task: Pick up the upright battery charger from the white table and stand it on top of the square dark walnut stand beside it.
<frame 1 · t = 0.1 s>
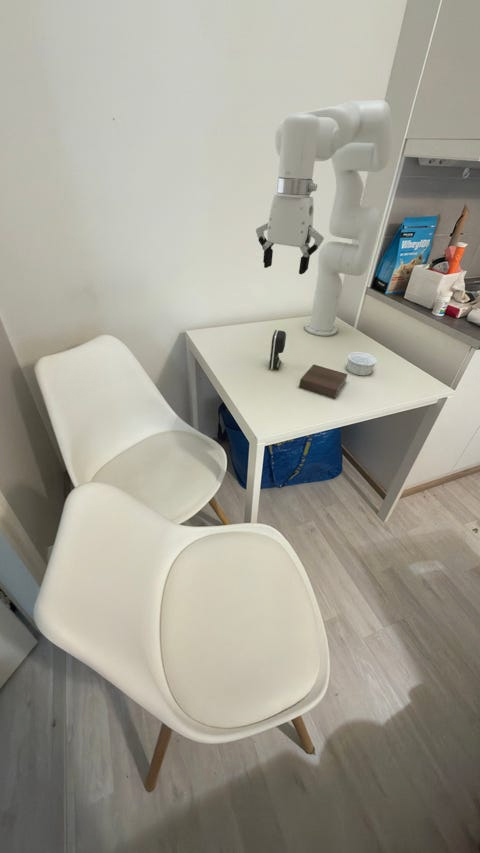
hand: (284, 269, 87), 31 cm above the table, tool pointing down, fingers open, 9 cm apart
ramekin: (358, 370, 112), on the table
stand: (322, 385, 104), on the table
battery charger: (276, 366, 112), on the table
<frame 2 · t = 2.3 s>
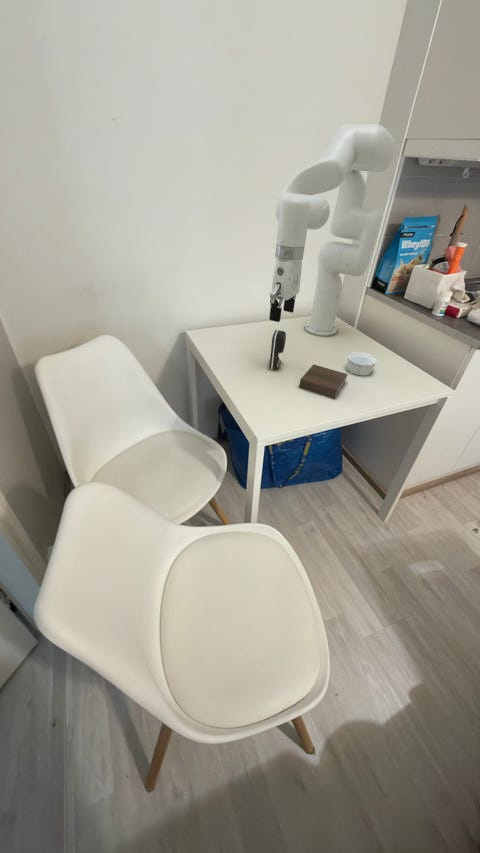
hand: (281, 316, 101), 17 cm above the table, tool pointing down, fingers open, 9 cm apart
nothing on the table moved.
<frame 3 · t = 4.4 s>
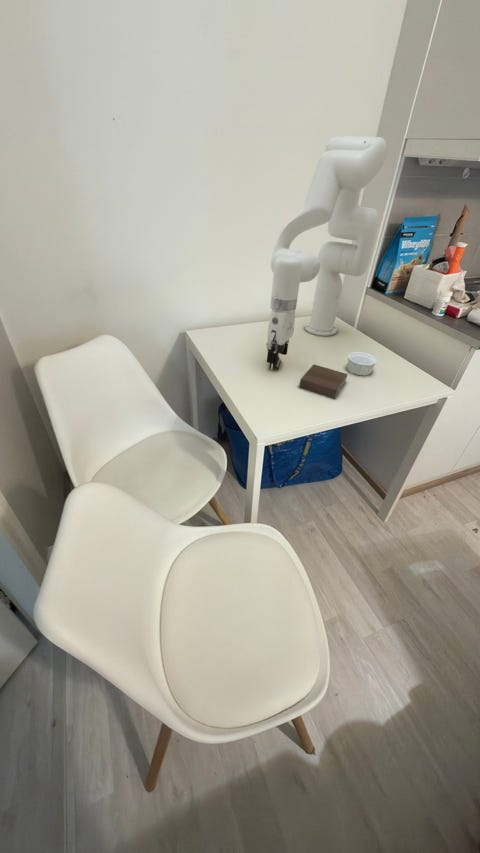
hand: (276, 358, 110), 3 cm above the table, tool pointing down, fingers closed on battery charger, 7 cm apart
battery charger: (276, 366, 112), on the table, touching gripper
everything else where it was.
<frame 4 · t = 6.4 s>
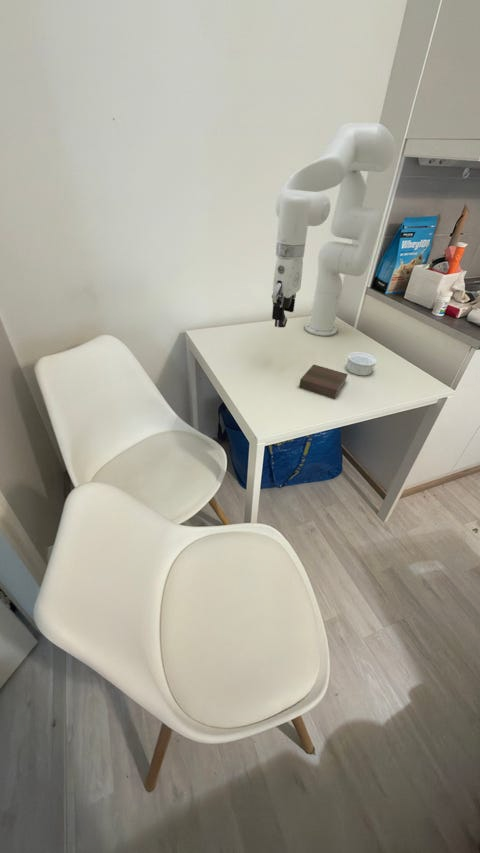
hand: (283, 314, 102), 17 cm above the table, tool pointing down, fingers closed on battery charger, 7 cm apart
battery charger: (282, 324, 104), point 14 cm above the table, touching gripper
everything else where it was.
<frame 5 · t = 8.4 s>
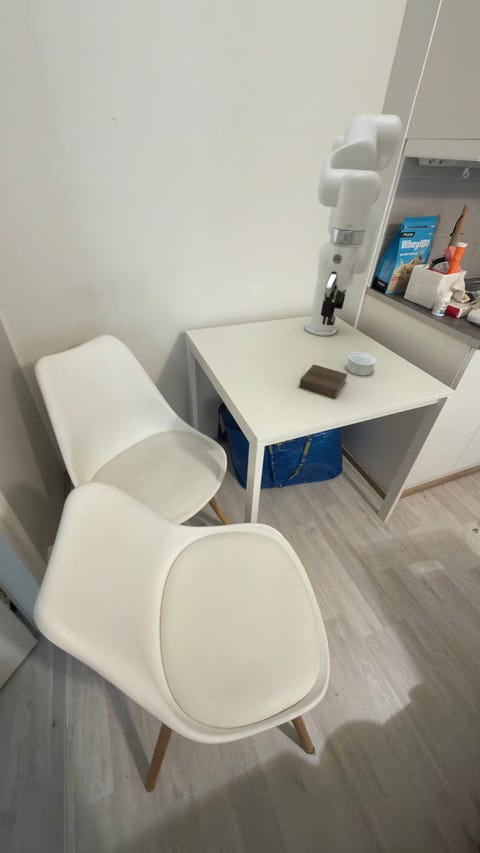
hand: (331, 311, 91), 22 cm above the table, tool pointing down, fingers closed on battery charger, 7 cm apart
battery charger: (329, 322, 93), point 19 cm above the table, touching gripper
everything else where it was.
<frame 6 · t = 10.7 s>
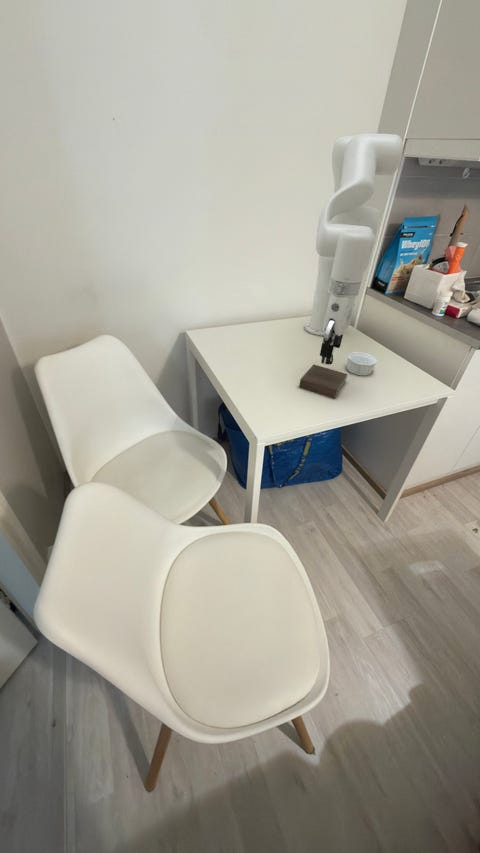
hand: (330, 351, 97), 11 cm above the table, tool pointing down, fingers closed on battery charger, 7 cm apart
battery charger: (327, 360, 99), point 8 cm above the table, touching gripper
everything else where it was.
when the fingers open (6 cm above the table, at t = 12.5 s): battery charger stays where it is, resting on stand.
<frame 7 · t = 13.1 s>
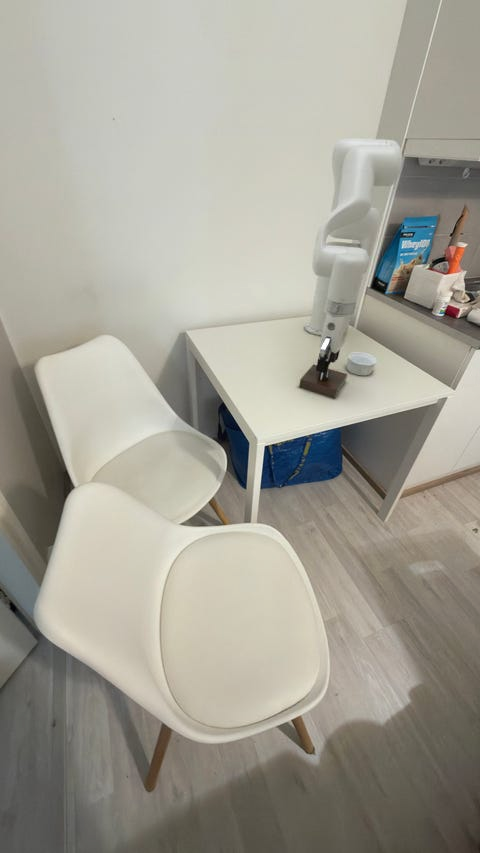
hand: (326, 365, 100), 7 cm above the table, tool pointing down, fingers open, 9 cm apart
battery charger: (324, 376, 102), point 3 cm above the table, touching stand
everything else where it was.
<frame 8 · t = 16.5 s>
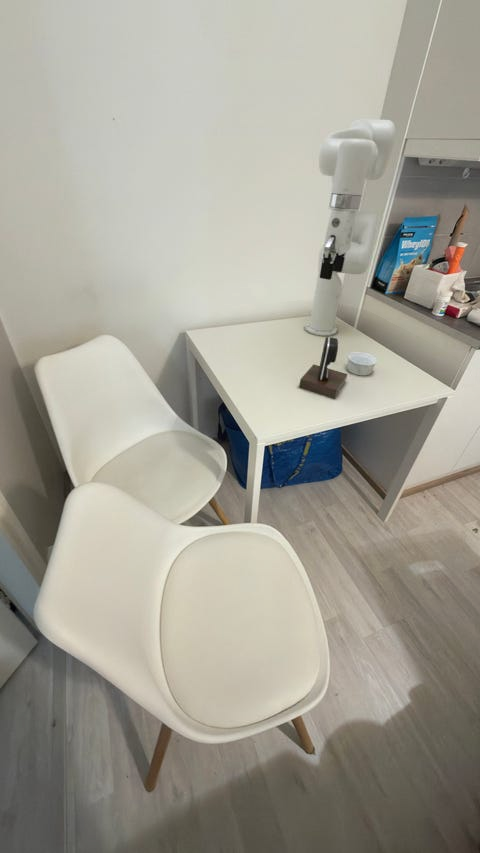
hand: (330, 274, 96), 28 cm above the table, tool pointing down, fingers open, 9 cm apart
nothing on the table moved.
at the end: battery charger inside the target area on the stand (0.2 cm from its centre), point 2.8 cm above the stand's base; battery charger tilted 0°; the gripper is holding nothing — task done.
